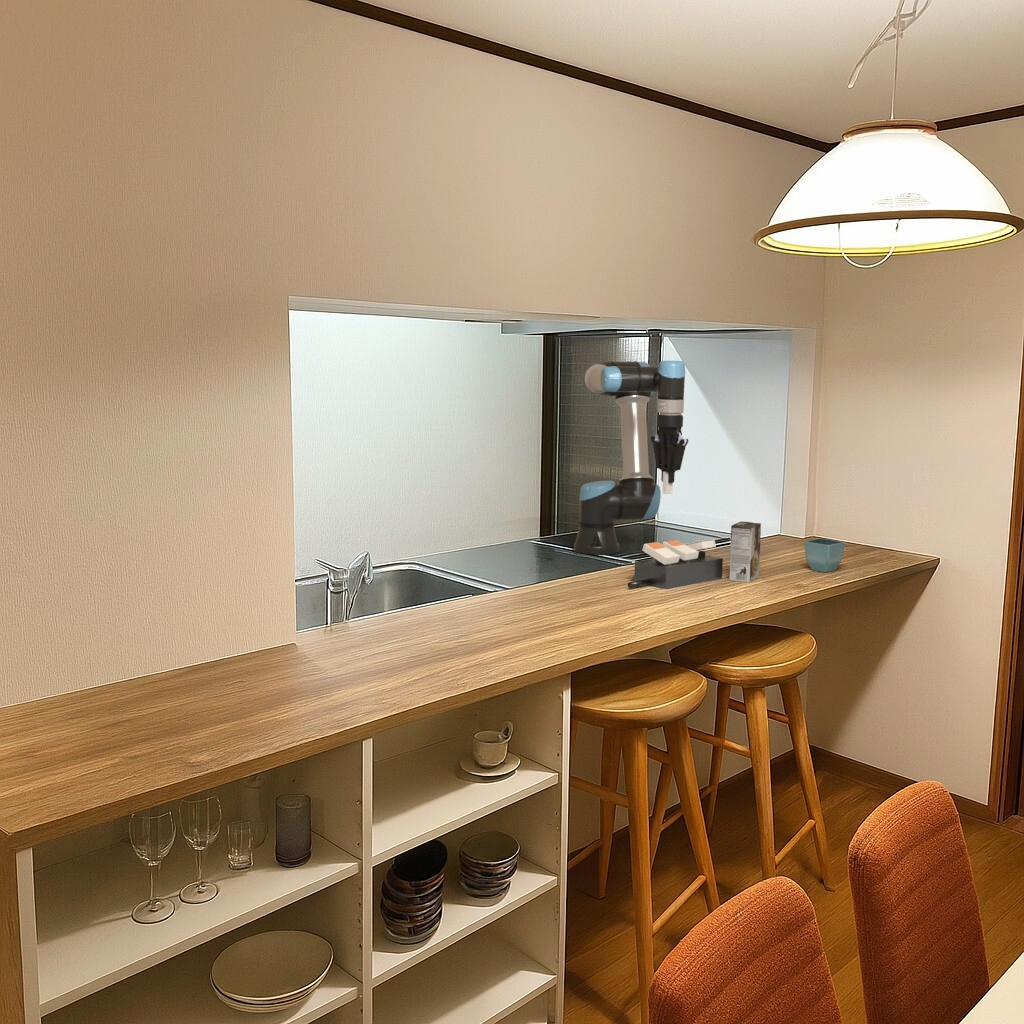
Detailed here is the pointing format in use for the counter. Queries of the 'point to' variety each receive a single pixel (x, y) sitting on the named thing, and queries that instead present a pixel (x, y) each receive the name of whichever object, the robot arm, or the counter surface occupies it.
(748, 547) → the coffee box
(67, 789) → the counter surface
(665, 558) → the rocker
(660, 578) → the dark gray long block
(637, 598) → the counter surface
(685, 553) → the rocker
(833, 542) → the flower pot
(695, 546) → the rocker
